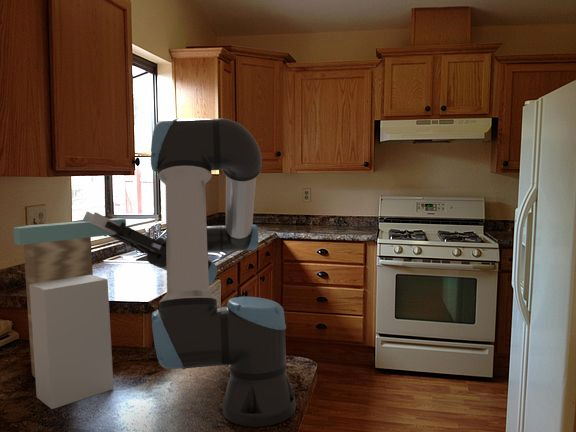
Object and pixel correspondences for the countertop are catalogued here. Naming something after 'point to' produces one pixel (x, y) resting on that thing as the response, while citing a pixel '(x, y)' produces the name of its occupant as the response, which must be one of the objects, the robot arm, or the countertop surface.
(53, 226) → the teal block
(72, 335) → the step block
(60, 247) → the oak block
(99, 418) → the countertop surface
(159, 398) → the countertop surface
